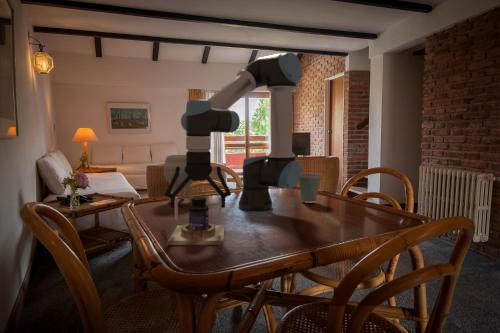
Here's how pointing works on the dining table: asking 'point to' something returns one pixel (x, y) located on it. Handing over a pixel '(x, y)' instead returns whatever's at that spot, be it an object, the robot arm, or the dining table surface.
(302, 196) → the disposable coffee cup
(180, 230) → the square socket plate
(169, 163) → the planter
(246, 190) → the robot arm
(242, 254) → the dining table surface
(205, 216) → the pill bottle
